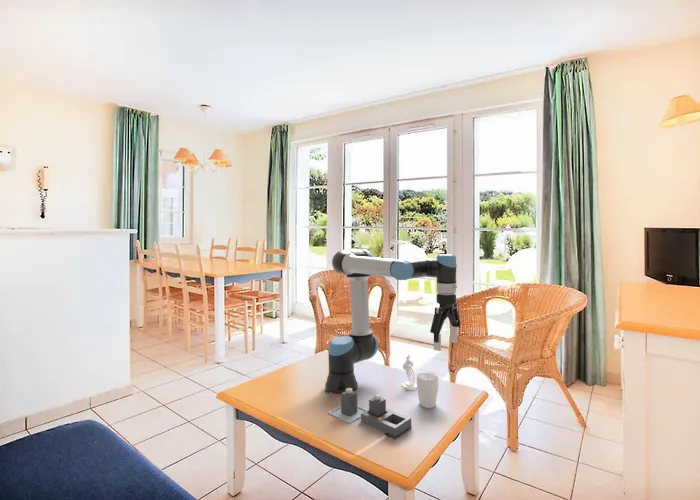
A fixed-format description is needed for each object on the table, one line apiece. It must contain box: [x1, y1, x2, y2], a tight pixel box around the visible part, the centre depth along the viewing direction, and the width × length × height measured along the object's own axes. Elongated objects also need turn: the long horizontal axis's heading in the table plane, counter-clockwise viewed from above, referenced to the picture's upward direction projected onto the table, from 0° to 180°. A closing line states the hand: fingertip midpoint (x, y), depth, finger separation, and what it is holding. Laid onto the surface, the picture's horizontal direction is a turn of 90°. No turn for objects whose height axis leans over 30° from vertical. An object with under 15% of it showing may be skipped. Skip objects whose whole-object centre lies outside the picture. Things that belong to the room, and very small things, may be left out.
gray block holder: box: [360, 393, 412, 440], centre depth 140 cm, size 16×10×10 cm, turn 47°
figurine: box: [400, 354, 418, 391], centre depth 177 cm, size 9×9×15 cm
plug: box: [340, 388, 358, 417], centre depth 149 cm, size 4×4×10 cm
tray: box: [327, 405, 368, 424], centre depth 149 cm, size 12×12×2 cm
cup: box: [416, 372, 439, 409], centre depth 158 cm, size 9×9×12 cm
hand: (445, 346), depth 150 cm, fingers open, 13 cm apart
